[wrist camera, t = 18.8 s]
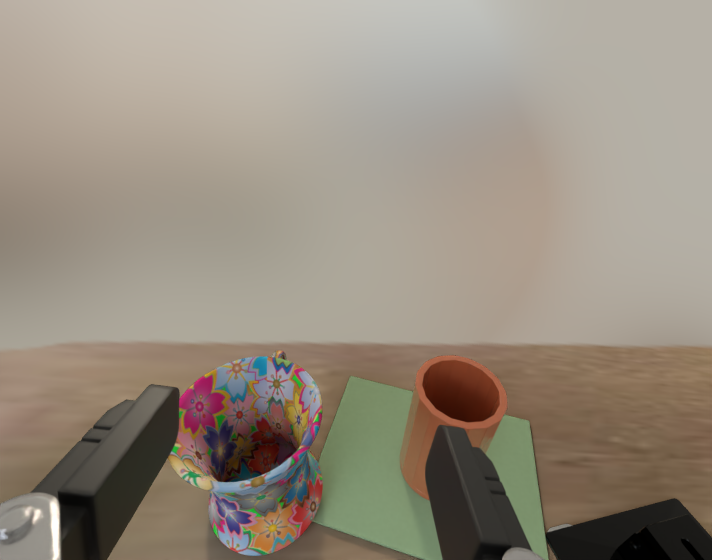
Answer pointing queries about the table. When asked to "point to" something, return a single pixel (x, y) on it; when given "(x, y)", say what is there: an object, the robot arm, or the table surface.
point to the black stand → (634, 536)
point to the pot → (449, 411)
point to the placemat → (386, 482)
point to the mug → (253, 450)
